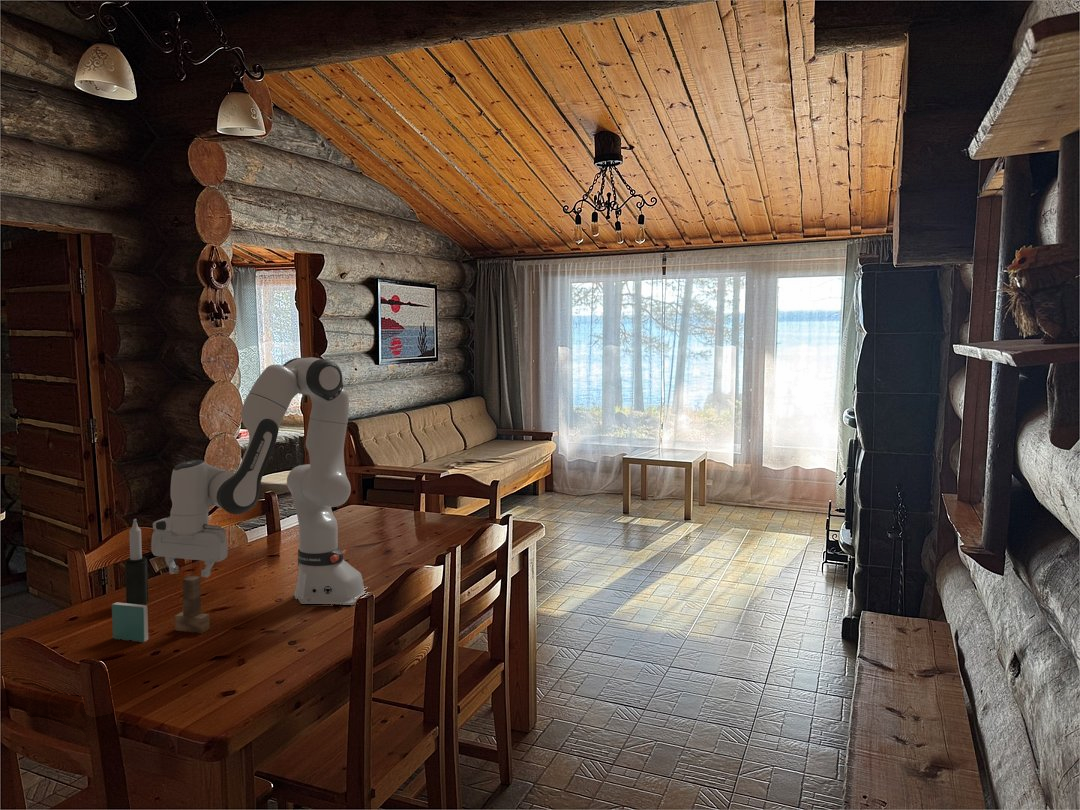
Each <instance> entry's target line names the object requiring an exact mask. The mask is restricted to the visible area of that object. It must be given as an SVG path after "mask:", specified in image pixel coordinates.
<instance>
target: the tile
mask: <svg viewBox="0 0 1080 810" xmlns="http://www.w3.org/2000/svg"><path fill="white" fill-rule="evenodd" d="M148 617H149V614H148V605H138V604H129V603H126V602H115V603H112V604H111V618H112V619H111V621H112V622H111V623H112V626H111V627H112V639H113V638H114V639H113V640H120V639H122V640H123V641H129V640H132V641H131V642H137V641H138V642H139V643H145V642H147V641H148V640H149V618H148Z"/></svg>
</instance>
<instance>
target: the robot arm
mask: <svg viewBox="0 0 1080 810" xmlns="http://www.w3.org/2000/svg"><path fill="white" fill-rule="evenodd" d="M343 384H344V383H343V373H342V371H341V368H340V366H338V364H337V363H335V362H334V361H332V360H329V359H326V358H318V357H313V356H311V357H310V356H309V357H294V358H291V359H289V360H288V361H286V362H285V363H284V364H283V365H282V364H270V365H268V366H267V367H266V368H264V370H263V371H262V372H261V374H259V376H258V378H257V379H256V380H255V382H254V384H253V386H252V387H251V389H250V390H249V392H248V394H247V396H246V398H245V399H244V402H243V404H242V408H241V411H240V419H241V422H242V424H243V425H244V427H245V428H246V430H247V432H248V437H249V438H248V444H247V447H246V449H245V451H244V454H243V457H242V459H241V461H240V464H239V466H238V468H237V469H236V471H234V472H233V471H230V470H227V469H224V468H223V469H222V468H218V467H216V466H213V465H210V464H208V463H207V462H206V461H204V460H203V459H191V460H187V461H182V462H180V463H178V464H177V465H175V466H174V468H173V469H172V473H171V479H170V500H171V504H172V505H171V506H172V507H171V508H170V515H169V516H167V517H164V518H161V519H158V520H156V521H153V522H152V529H153V532H152V534H151V544H150V547H151V549H150V550H151V553H152V554H153V556H155V557H161V558H162V557H163V558H164V561H165V563H166V565H167V567H168V571H169V574H170V575H171V574H172V575H173V574H174V575H175V574H176V575H177V574H178V573H179V571H180V570H179V565H176V562H175V559H183V560H192V561H193V560H194V561H202V562H204V565H205V568H203V569H201V571H200V572H201V575H200V577H201V578H209V577H210V576H211V570H212V568H213V566H214V565H215V563H219V562H222V561H224V560H225V559H227V557H228V554H229V553H228V552H229V551H228V541H227V537H226V536H227V535H226V534H227V533H226V530H225V529H224V528H223V527H222V526H221V525H218V524H217V525H213V524H209V508H210V507H212V506H215V507H218V508H220V509H222V510H224V511H225V512H227V513H229V514H232V515H242V514H245V513H248V512H249V511H250V510H252V509H253V508H254V507H255V506H256V505H257V502H258V501H259V498H260V493H261V484H262V480H263V476H264V474H265V470H266V469H267V466H268V464H269V463H268V462H269V461H270V458H271V455H272V453H273V450H274V448H275V446H276V442H277V440H278V434H279V431H280V427H281V424H282V422H283V419H284V417H285V415H286V413H287V411H288V409H289V406H290V404H291V402H292V401H293V399H294V398H295V397H296V396H297V395H298V394H299V395H304V396H309V398H310V401H311V411H310V415H309V420H308V425H307V431H306V433H307V434H306V439H305V447H306V449H307V451H308V456H309V457H308V458H309V463H308V464H300V465H297V466H295V467H293V468H292V469H291V470H290V471H289V473H288V475H287V477H286V485H287V488H288V489H287V490H289V492H290V494H291V496H292V500H293V504H294V508H295V512H296V513H295V514H296V516H297V521H298V536H299V537H298V540H299V541H298V543H299V546H298V549H297V566H298V575H297V580H296V581H297V583H296V588H295V591H294V595H293V597H294V596H295V597H294V599H295V600H297V599H298V600H297V601H299V604H300V603H301V604H331V605H330V606H333V605H332V604H340V605H341V604H343V605H351V606H355V605H356V604H355V602H356V600H357V599H358V598H359V597H360V596H362V595H364V594H368V593H372V591H371V592H367V593H365V592H366V591H364V590H365V589H367V588H368V587H369V586H364V581H363V576H362V573H361V572H360V571H359V570H357V569H356V568H355V567H354V566H352V565H351V564H350V563H348V562H347V561H346V560H344V555H345V554H346V551H347V549H344V550H341V549H340V547H339V545H338V544H339V543H338V535H339V534H338V533H339V532H338V530H339V529H338V520H337V518H336V517H335V515H334V513H333V510H332V508H335V507H336V508H337V507H340V506H343V504H345V503H346V502H347V501H348V499H349V497H350V495H351V492H352V487H351V482H350V481H349V478H348V476H347V472H346V465H345V451H344V450H345V442H346V435H347V429H348V422H349V413H350V412H349V411H350V400H349V399H350V398H349V393H348V391H347V390H346V389H345V388H343V387H344V385H343ZM364 587H366V588H364ZM301 604H300V605H301Z"/></svg>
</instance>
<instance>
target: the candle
mask: <svg viewBox="0 0 1080 810" xmlns="http://www.w3.org/2000/svg"><path fill="white" fill-rule="evenodd" d="M132 521H133V522H132V527H131V528H130V529H129V532H128V533H129V557H128V558H127V559H126V561H125V563H124V565H125V566H124V570H125V571H124V572H125V573H124V575H125V576H124V577H125V600H126V602H125V603H129V604H138V605H146V604H148V602H149V584H148V583H149V582H148V558H147V557H145V556H143V553H142V552H143V551H142V529H141V528H140V527H139V526H138V525H139V524H138V522H137V518H134V519H132ZM147 601H148V602H147Z"/></svg>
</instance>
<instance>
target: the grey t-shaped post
mask: <svg viewBox="0 0 1080 810" xmlns="http://www.w3.org/2000/svg"><path fill="white" fill-rule="evenodd" d="M201 593H202V592H201V576H196V575H188V576H186V577H185V578H182V611H181V612H179V613H177V614H176V615H174V624H175V625H174V627H175V628H174V630H175V631H178V632H186V633H187V631H188V633H195V632H197V634H204V633H205V632H207V631H208V629H209V630H210V626H211V625H210V624H211V623H210V614H209V613H203V612H202V604H201V603H202V601H201V598H202V596H201ZM206 630H207V631H206ZM203 632H204V633H203Z"/></svg>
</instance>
